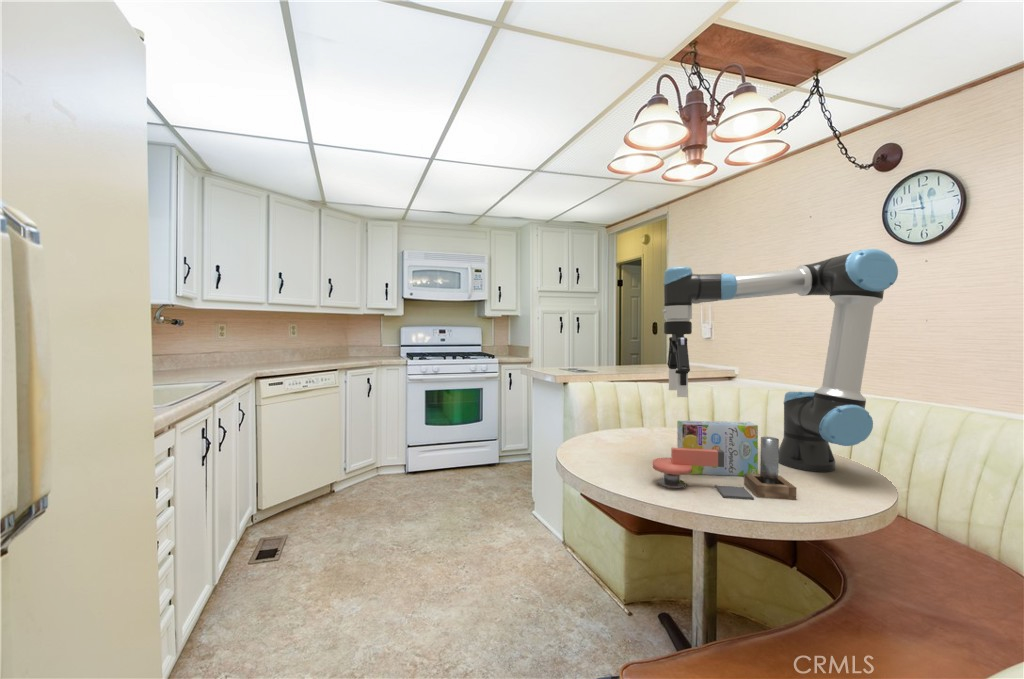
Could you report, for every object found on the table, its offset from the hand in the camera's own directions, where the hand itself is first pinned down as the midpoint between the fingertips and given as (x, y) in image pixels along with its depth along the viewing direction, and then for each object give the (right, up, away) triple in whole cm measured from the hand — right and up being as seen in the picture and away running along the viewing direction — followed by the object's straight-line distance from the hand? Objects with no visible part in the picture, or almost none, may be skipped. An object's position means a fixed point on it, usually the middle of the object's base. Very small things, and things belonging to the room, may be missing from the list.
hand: (677, 393), depth 123 cm
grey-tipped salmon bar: (-1, -20, -9) cm, 21 cm away
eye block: (+19, -24, -13) cm, 33 cm away
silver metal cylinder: (+19, -24, -13) cm, 33 cm away
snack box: (+12, -24, +2) cm, 27 cm away
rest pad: (+9, -24, -14) cm, 29 cm away
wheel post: (-5, -24, -8) cm, 26 cm away
